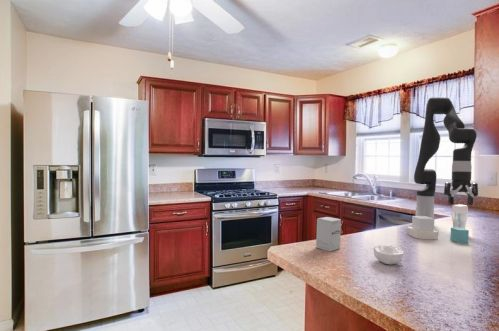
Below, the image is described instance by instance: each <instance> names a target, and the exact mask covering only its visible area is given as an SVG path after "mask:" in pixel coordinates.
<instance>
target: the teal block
mask: <svg viewBox="0 0 499 331" xmlns="http://www.w3.org/2000/svg"><path fill="white" fill-rule="evenodd" d="M469 232H470V230H469V229H466V228H465V229H463V228H453V227H450V241H453V242H455V243H457V244H468V243H469V234H470V233H469Z"/></svg>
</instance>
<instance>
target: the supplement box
mask: <svg viewBox="0 0 499 331" xmlns="http://www.w3.org/2000/svg"><path fill="white" fill-rule="evenodd" d="M341 228H342V219H341V218H336V217H335V218H334V217H330V216H324V217H318V218H317V219H316V237H315V238H316V241H315V242H316V243H315V244H316V245H315V247H316V248H318V249H319V250H322V251H326V252H333V251H336V250H340V249H341V235H342V233H341V231H342V229H341Z"/></svg>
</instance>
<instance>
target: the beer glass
mask: <svg viewBox="0 0 499 331" xmlns="http://www.w3.org/2000/svg"><path fill="white" fill-rule="evenodd" d="M468 207H469V205H465V204H454V205H452V208H451V220H452V221H451V222H452V228H463V229H466V227H467V226H466V225H467V221H468V217H469V216H468V215H469V209H468Z"/></svg>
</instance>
